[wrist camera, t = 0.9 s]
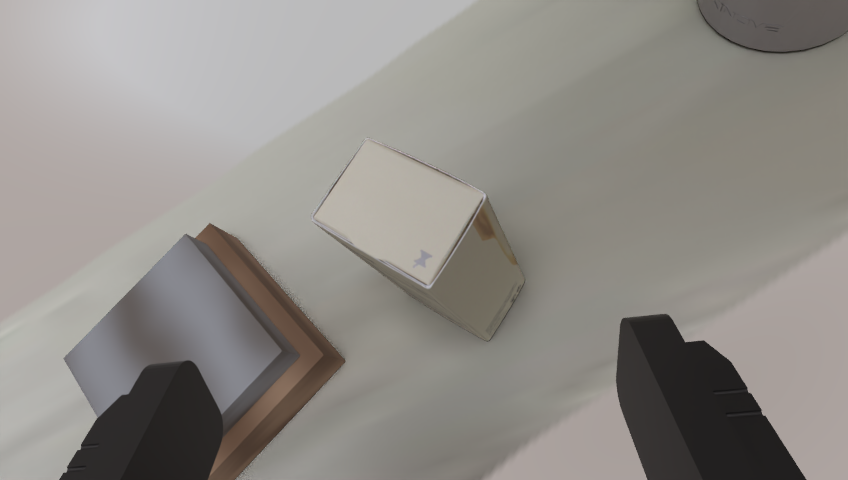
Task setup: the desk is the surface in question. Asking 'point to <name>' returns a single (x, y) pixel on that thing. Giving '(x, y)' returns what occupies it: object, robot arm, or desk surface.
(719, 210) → the desk surface
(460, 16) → the desk surface
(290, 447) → the desk surface
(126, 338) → the metal plate on wood
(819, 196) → the desk surface
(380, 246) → the skincare box
